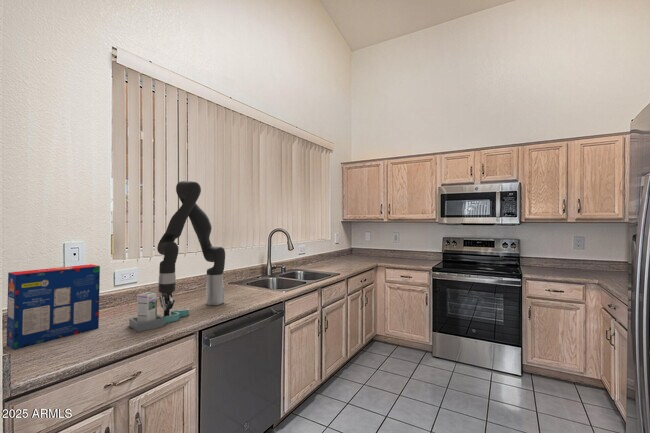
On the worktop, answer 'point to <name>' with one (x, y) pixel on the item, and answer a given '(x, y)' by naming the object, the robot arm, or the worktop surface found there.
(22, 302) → the blue toy box
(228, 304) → the worktop surface
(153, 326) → the holder
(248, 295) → the worktop surface
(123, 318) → the worktop surface
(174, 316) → the clip
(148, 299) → the syrup box
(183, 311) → the clip
